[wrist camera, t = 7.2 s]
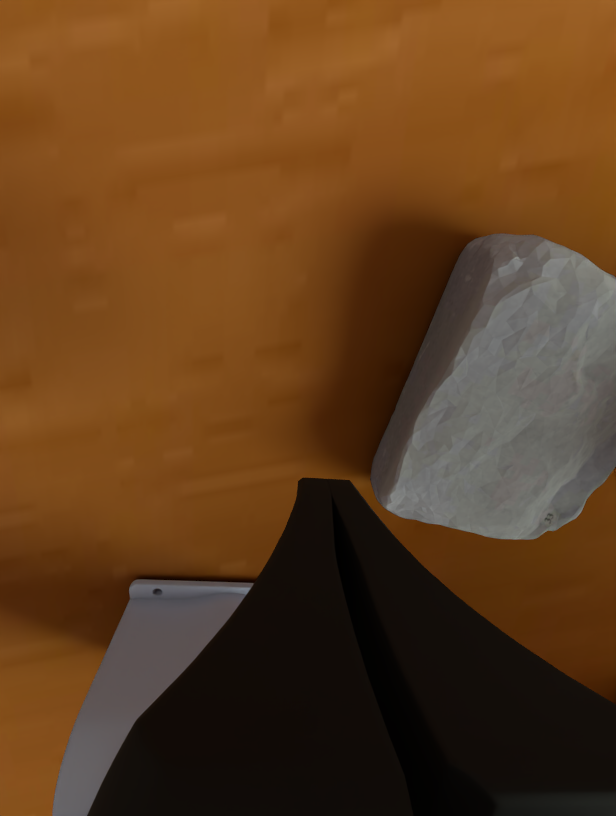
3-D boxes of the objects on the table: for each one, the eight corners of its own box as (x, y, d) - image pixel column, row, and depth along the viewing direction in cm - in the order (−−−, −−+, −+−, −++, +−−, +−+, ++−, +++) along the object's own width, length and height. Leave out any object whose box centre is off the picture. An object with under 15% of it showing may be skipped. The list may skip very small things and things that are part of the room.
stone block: (628, 284, 17) (449, 215, 14) (758, 311, 13) (548, 222, 10) (501, 489, 22) (346, 473, 19) (568, 555, 18) (384, 549, 15)
